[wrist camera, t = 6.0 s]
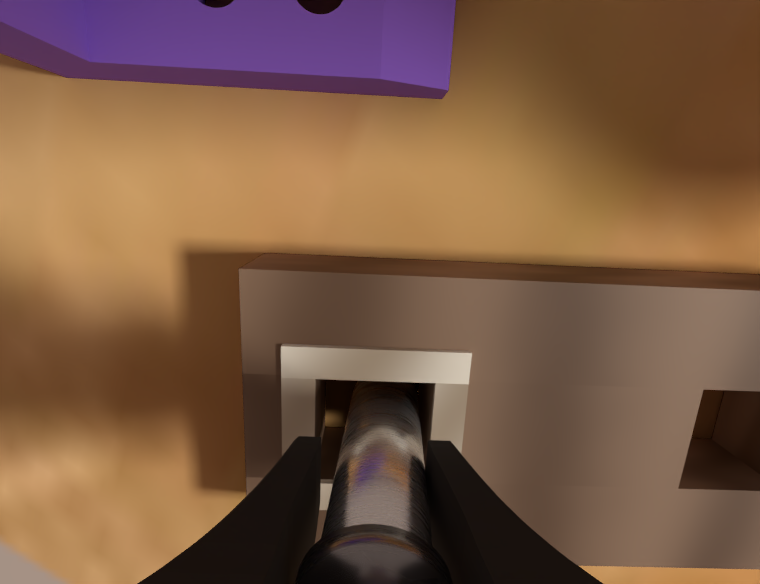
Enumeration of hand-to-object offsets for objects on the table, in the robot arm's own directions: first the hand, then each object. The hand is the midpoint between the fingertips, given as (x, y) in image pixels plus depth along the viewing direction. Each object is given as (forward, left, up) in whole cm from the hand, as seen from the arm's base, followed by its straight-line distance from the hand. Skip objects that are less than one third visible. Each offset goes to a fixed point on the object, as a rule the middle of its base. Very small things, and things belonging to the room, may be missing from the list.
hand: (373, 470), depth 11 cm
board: (-6, 0, -5) cm, 8 cm away
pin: (0, 0, -4) cm, 4 cm away
